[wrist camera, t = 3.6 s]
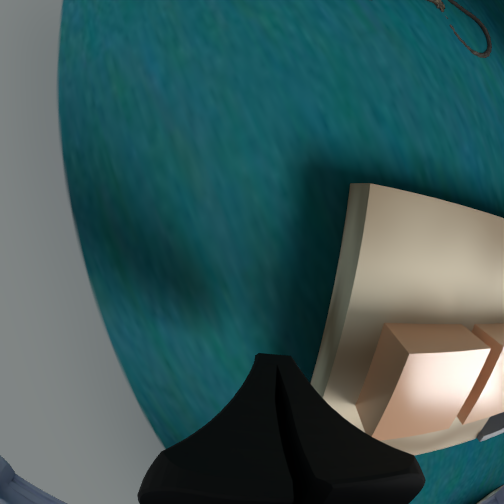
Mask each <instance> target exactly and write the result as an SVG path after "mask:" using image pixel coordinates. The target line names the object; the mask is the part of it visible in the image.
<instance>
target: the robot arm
mask: <svg viewBox="0 0 504 504" xmlns="http://www.w3.org/2000/svg"><path fill="white" fill-rule="evenodd" d="M424 483H425V477H424V475H423V473H422V470H421V468H420V466H419V464H418V462H417V460H416V458H415V457H414V455H412V454H409V453H407V452H404V451H402V450H399V449H396V448H394V447H391V446H389V445H387V444H385V443H383V442H381V441H379V440H377V439H375V438H373V437H372V436H370V435H368V434H366V433H365V432H363V431H362V430H360V429H359V428H357V427H356V426H354V425H353V424H351V423H350V422H349V421H347V420H346V419H345V418H343V417H342V416H341V415H340V414H339V413H338V412H337V411H335V410H334V409H333V408H332V407H331V406H330V405H329V404H328V403H327V402H326V401H325V400H324V399H323V398H322V397H321V396H320V395H319V393H318V392H317V391H316V390H315V389H314V387H313V386H312V385H311V384H310V382H309V381H308V380H307V378H306V377H305V376H304V374H303V373H302V372H301V370H300V369H299V367H298V366H297V364H296V363H295V361H294V360H293V358H292V357H291V356H285V355H274V354H263V353H258V354H257V355H255V361H254V364H253V366H252V369H251V371H250V373H249V375H248V376H247V378H246V380H245V382H244V383H243V385H242V386H241V388H240V389H239V390H238V392H237V393H236V394H235V396H234V397H233V398H232V400H231V401H230V402H229V403H228V404H227V405H226V406H225V407H224V408H223V410H222V411H221V412H220V413H218V414H217V415H216V416H215V417H214V418H213V419H212V420H211V421H210V422H208V423H207V424H206V425H205V426H203V427H202V428H201V429H199V430H198V431H196V432H195V433H194V434H192V435H191V436H189V437H188V438H186V439H184V440H183V441H181V442H179V443H177V444H175V445H173V446H171V447H170V448H168V449H166V450H164V451H162V452H161V453H160V454H159V455H158V457H157V458H156V459H155V460H154V462H153V464H152V465H151V466H150V468H149V470H148V471H147V473H146V475H145V477H144V479H143V481H142V484H141V487H140V490H139V492H138V501H139V503H140V504H409V503H410V502H411V501H412V500H413V499H414V498H415V497H416V495H417V494H418V493H419V492H420V491H421V489H422V488H423V486H424ZM0 504H67V503H65V502H63V501H61V500H59V499H57V498H55V497H53V496H51V495H49V494H48V493H46V492H44V491H42V490H41V489H39V488H37V487H35V486H34V485H32V484H30V483H29V482H27V481H26V480H24V479H23V478H21V477H19V476H18V475H17V474H15V472H14V470H13V469H12V467H11V466H10V465H9V464H8V462H7V461H5V459H4V458H3V457H1V456H0ZM478 504H504V485H503V486H502V487H501V488H500V489H499V490H498V491H497V492H496V493H495V495H493V496H491V497H490V498H488V499H486V500H484V501H482V502H480V503H478Z"/></svg>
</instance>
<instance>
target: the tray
mask: <svg viewBox="0 0 504 504" xmlns="http://www.w3.org/2000/svg"><path fill="white" fill-rule="evenodd" d="M503 432H504V412H502V413H499V414H497V415H494V416H491V417H490V418H489V419H488V421H487V422H486V424H485V425H484V427H483V428H482V430H481V431H480V433H479V434H478V436H477V439H478V440H479V441H480V442H481V441H483V440H486V439H489V438H491V437H494V436H496V435H499V434H501V433H503Z"/></svg>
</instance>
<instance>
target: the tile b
mask: <svg viewBox="0 0 504 504" xmlns="http://www.w3.org/2000/svg"><path fill="white" fill-rule="evenodd" d="M472 333H473V334H474V335H476V336H477V337H478V338H479V339H480V340H482V341H483V342H484V343H485V344H486V345H487V346H489V347H490V348H491V349H490V352H489V354H488V356H487V359H486V361H485V363H484V365H483V367H482V369H481V372H480V374H479V376H478V378H477V380H476V382H475V384H474V386H473V388H472V390H471V391H470V393H469V395H468V397H467V399H466V401H465V402H464V404H463V406H462V408H461V409H460V411H459V413H458V414H457V418H458V419H459V421H460V422H461V423H462V425H464V424H468V423H471V422H475V421H478V420H481V419H485V418H488V417H491V416H494V415H497V414H499V413H502V412H504V323H492V324H474V327H473V330H472Z"/></svg>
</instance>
